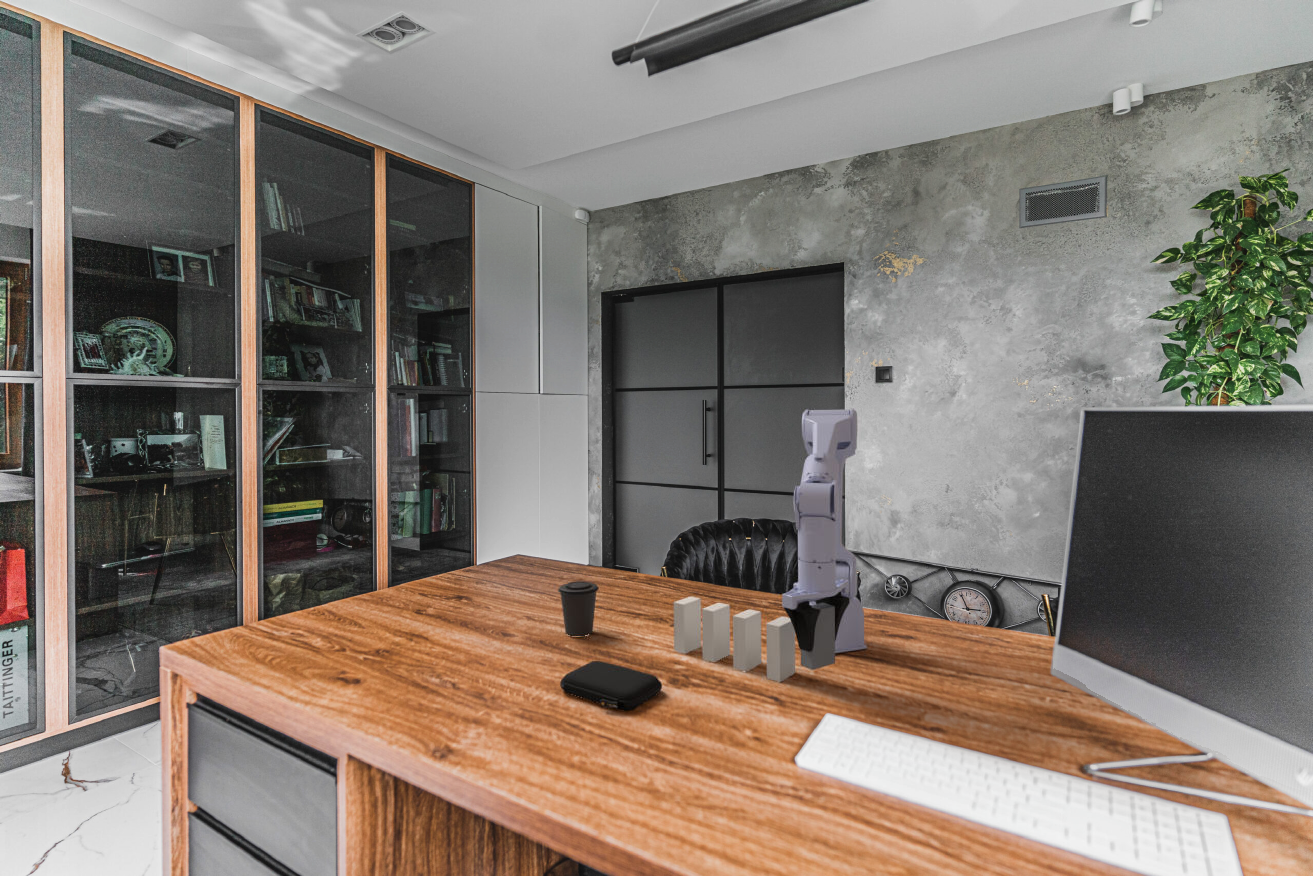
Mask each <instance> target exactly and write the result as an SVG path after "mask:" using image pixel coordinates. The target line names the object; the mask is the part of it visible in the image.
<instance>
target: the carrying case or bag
mask: <svg viewBox="0 0 1313 876" xmlns="http://www.w3.org/2000/svg"><path fill="white" fill-rule="evenodd" d="M662 684H663V683H662V682H661V680H660V679H659V678H658V677H657V676H655V675H653V674H650V673H647V672H642V671H641V670H640V671H639V670H637V669H633V668H628V667H625V666H621V665H618V664H617V665H616V664H613V663H609V662H605V661H601V660H593V661H590V662H588V663H586V664H584V665H582V666H579V668H576V669H573V670H572V671H570V672H568V673H566V674H565V675H564V676H563V678H562V679H561V680H560V683H559V685H560V688H561V689H562V690H563V692H564V693H566V692H567V693H566V694H568V693H569V694H568V695H571V694H573V695H572V696H574V695H576V696H575V697H577V696H579V697H578V698H580V697H582V698H581V699H583V698H585V699H584V700H586V699H588V700H587V701H589V700H591V701H590V702H592V701H594V702H593V703H596V702H598V703H597V704H599V703H600V704H599V705H600V706H601V707H602V708H612V707H613V708H612V709H615V708H617V709H616V710H619V709H620V710H619V711H622V710H624V712H630V710H631V711H634V710H636V709H637V708H639V707H640V706H642V705H643V704H645V703H646V702H648V701H649V699H650V700H651V699H652V697H653V696H654V697H655V695H656V694H657V695H658V694H659V692H661V690H662V688H663V685H662ZM657 695H656V696H657ZM654 697H653V698H654ZM644 702H645V703H644ZM641 704H642V705H641ZM638 706H639V707H638ZM635 708H636V709H635ZM633 709H634V710H633Z"/></svg>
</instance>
